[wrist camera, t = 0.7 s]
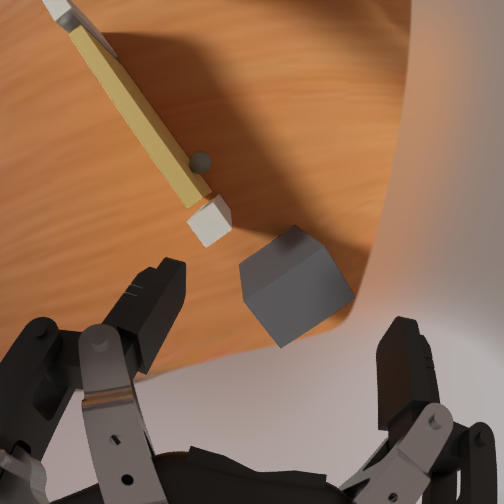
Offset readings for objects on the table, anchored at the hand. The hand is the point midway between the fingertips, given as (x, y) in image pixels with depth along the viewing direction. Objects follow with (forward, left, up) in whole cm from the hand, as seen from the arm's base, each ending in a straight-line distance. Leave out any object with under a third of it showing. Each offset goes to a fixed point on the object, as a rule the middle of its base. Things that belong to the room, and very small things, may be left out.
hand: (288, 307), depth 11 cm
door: (-10, -9, -20) cm, 24 cm away
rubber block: (+4, +4, -21) cm, 21 cm away
